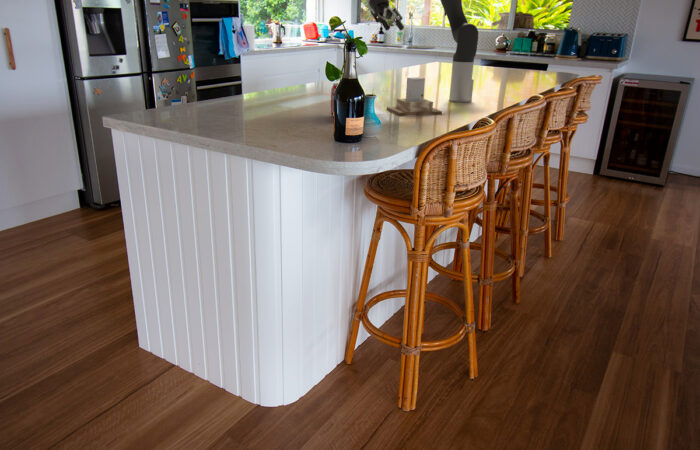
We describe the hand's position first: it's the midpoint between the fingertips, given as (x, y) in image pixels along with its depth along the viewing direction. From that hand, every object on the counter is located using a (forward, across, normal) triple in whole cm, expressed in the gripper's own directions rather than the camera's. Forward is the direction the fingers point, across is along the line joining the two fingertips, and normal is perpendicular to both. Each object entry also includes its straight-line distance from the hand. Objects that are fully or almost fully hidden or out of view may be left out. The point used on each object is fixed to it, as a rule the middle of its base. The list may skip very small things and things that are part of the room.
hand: (395, 29), depth 224 cm
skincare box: (+33, -6, +9) cm, 35 cm away
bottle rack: (+34, -7, +9) cm, 36 cm away
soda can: (+27, -37, +17) cm, 49 cm away
